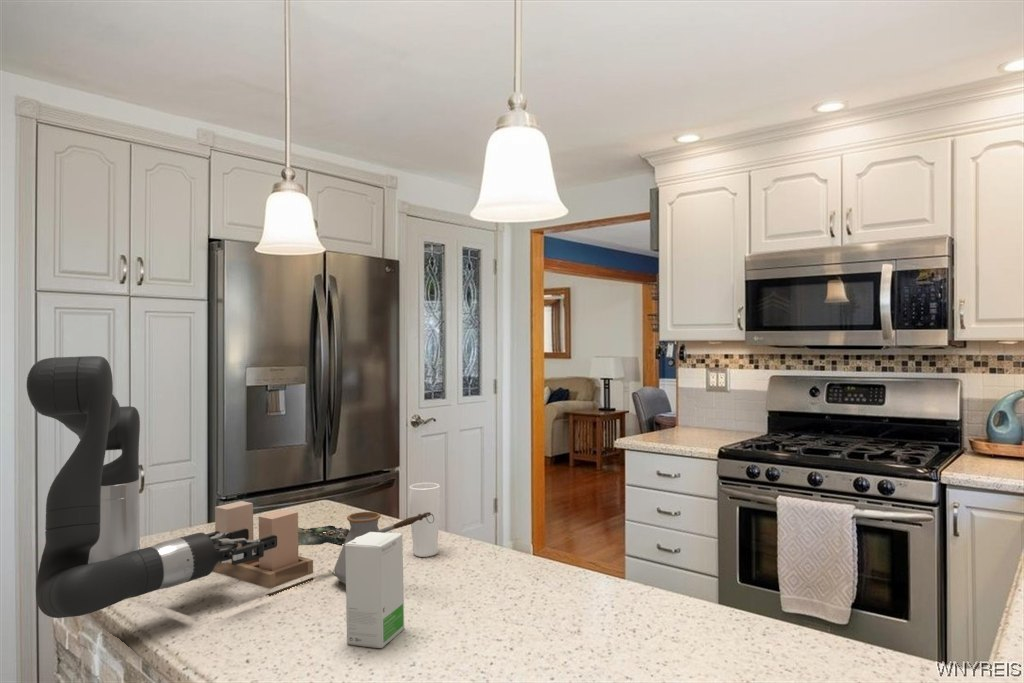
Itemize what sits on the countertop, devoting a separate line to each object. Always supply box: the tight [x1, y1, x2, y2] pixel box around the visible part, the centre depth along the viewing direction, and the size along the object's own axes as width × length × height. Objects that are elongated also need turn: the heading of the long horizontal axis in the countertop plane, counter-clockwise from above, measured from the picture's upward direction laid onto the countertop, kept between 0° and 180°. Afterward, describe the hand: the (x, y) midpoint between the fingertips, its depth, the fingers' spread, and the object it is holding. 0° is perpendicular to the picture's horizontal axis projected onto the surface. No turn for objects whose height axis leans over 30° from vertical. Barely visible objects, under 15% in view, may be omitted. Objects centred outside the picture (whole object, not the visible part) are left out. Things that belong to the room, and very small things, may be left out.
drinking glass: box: [408, 482, 441, 558], centre depth 148 cm, size 7×7×15 cm
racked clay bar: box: [214, 500, 255, 551], centre depth 138 cm, size 4×6×12 cm, turn 146°
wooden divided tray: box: [212, 555, 314, 597], centre depth 134 cm, size 22×10×4 cm, turn 56°
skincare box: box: [345, 532, 405, 649], centre depth 107 cm, size 8×7×16 cm
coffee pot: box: [333, 511, 434, 586], centre depth 129 cm, size 21×12×15 cm, turn 65°
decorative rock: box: [298, 525, 350, 547], centre depth 158 cm, size 19×6×15 cm
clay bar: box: [258, 509, 299, 571], centre depth 130 cm, size 4×6×12 cm, turn 146°
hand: (261, 537), depth 127 cm, fingers open, 8 cm apart
